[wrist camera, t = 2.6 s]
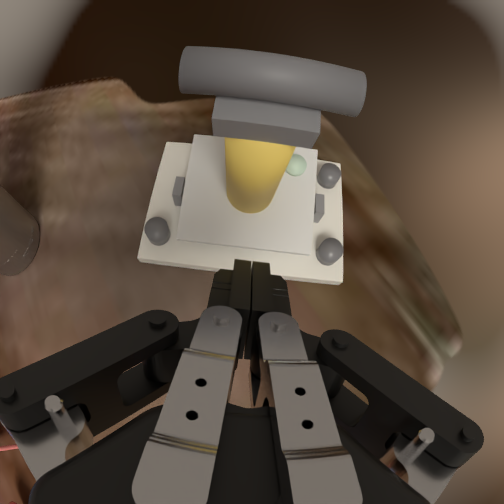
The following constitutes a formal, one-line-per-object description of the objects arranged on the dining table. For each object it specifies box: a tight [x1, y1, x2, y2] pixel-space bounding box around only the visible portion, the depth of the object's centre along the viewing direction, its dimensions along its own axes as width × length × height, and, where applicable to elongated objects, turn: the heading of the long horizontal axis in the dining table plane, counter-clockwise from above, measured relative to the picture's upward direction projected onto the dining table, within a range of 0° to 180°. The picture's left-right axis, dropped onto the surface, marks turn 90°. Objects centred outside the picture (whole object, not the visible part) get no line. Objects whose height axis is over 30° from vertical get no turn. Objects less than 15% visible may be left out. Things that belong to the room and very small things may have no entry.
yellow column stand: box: [176, 46, 367, 256], centre depth 24 cm, size 14×12×22 cm
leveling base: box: [137, 142, 343, 285], centre depth 36 cm, size 23×16×4 cm
